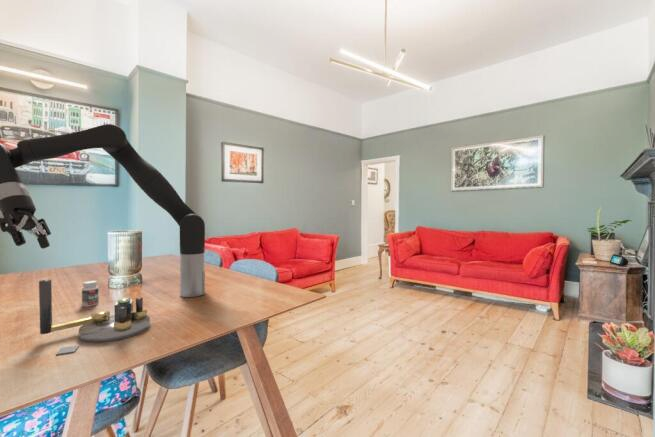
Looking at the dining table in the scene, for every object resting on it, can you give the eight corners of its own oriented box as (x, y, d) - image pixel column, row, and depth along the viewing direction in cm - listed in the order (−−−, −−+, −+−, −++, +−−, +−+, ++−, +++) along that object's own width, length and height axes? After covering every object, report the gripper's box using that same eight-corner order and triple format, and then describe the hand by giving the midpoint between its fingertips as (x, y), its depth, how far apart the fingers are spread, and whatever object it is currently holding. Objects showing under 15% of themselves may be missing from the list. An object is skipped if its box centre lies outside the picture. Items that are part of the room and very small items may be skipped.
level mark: (79, 346, 78) (79, 345, 78) (74, 352, 74) (74, 351, 74) (61, 348, 76) (61, 347, 76) (55, 355, 73) (55, 354, 73)
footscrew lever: (107, 315, 93) (106, 271, 92) (111, 319, 90) (111, 273, 89) (38, 331, 81) (37, 280, 80) (41, 336, 78) (40, 282, 77)
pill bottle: (89, 307, 107) (89, 284, 106) (78, 306, 108) (78, 283, 107) (101, 303, 111) (101, 280, 111) (91, 302, 112) (91, 280, 112)
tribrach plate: (152, 316, 99) (152, 289, 99) (146, 336, 84) (146, 305, 84) (88, 323, 92) (88, 295, 92) (69, 347, 77) (68, 314, 76)
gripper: (5, 188, 86) (26, 237, 85) (46, 200, 100) (64, 242, 98) (-23, 200, 85) (-2, 250, 83) (22, 210, 99) (41, 253, 97)
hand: (34, 246), depth 91 cm, fingers open, 8 cm apart
